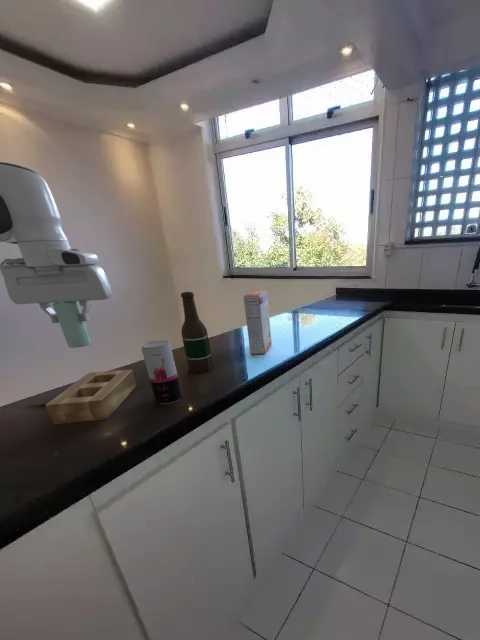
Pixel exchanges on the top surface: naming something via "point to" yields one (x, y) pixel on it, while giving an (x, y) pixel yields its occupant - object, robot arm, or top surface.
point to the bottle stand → (92, 397)
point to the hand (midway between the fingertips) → (72, 321)
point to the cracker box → (258, 321)
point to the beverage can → (162, 371)
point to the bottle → (72, 324)
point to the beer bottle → (195, 337)
